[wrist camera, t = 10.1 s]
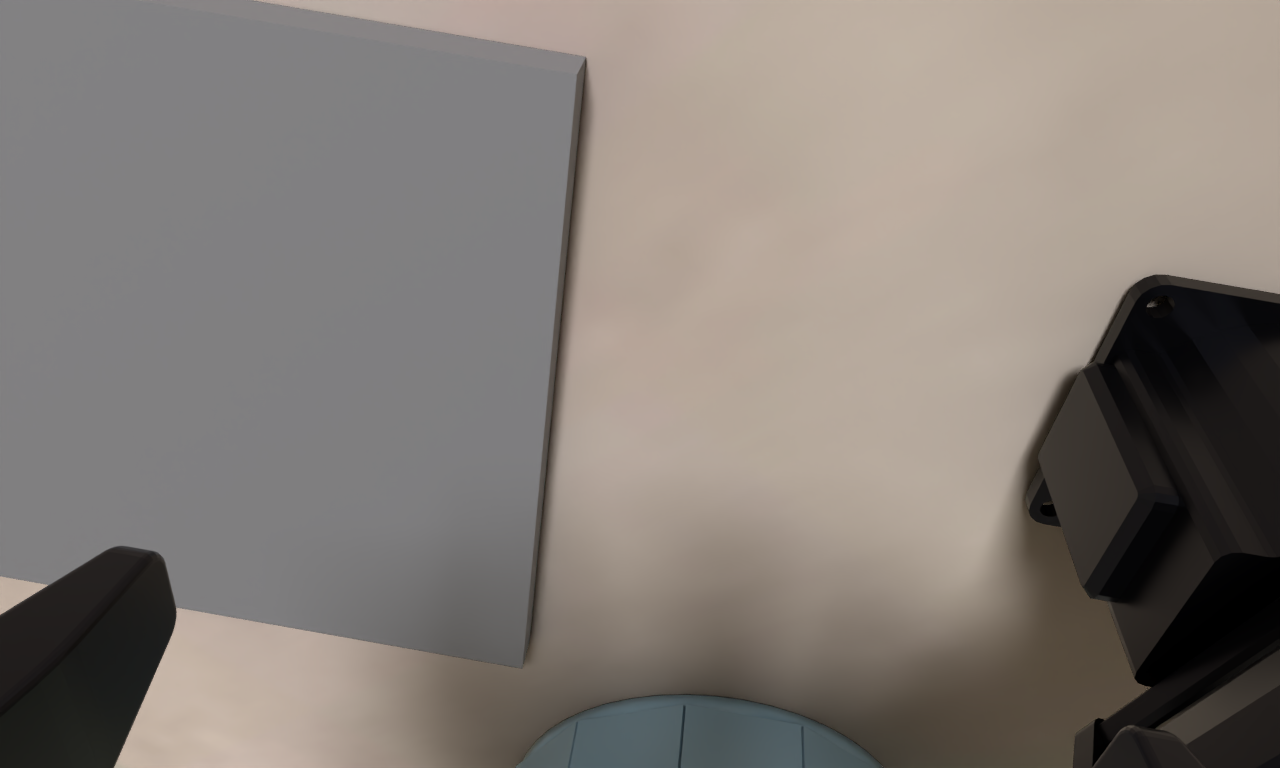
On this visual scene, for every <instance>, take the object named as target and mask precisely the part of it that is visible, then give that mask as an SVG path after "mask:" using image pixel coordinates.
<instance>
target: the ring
mask: <svg viewBox="0 0 1280 768" xmlns="http://www.w3.org/2000/svg"><path fill="white" fill-rule="evenodd" d="M515 768H883V767H882V765H881V764H880V763H879V762H878V761H877V760H876V759H874V758H873V757H872V756H871V755H870V754H869V753H868V752H867V751H865V750H864V749H863V748H861V747H860V746H859V745H857V744H856V743H854V742H853V741H851V740H850V739H848V738H847V737H845V736H844V735H842V734H840V733H838V732H836V731H834V730H832V729H830V728H829V727H827V726H825V725H823V724H820V723H818V722H816V721H813V720H811V719H808V718H806V717H803V716H801V715H799V714H795V713H792V712H789V711H786V710H783V709H779V708H776V707H773V706H769V705H764V704H760V703H755V702H750V701H746V700H740V699H732V698H725V697H718V696H703V695H658V696H649V697H640V698H632V699H627V700H622V701H618V702H613V703H608V704H605V705H601V706H598V707H595V708H592V709H589V710H586V711H583V712H581V713H579V714H577V715H575V716H572V717H570V718H568V719H566V720H564V721H562V722H561V723H559V724H558V725H556V726H554V727H553V728H551V729H550V730H548V731H547V732H546V733H545V734H544V735H543V736H541V737H540V738H539V739H538V740H537V741H536V742H535V743H534V744H533V745H532V747H531V748H530V749H529V751H528V752H527V753H526V754H525V756H524V759H523V761H522V762H521V763H519V764H518V765H517V766H516V767H515Z"/></svg>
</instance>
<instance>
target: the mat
mask: <svg viewBox="0 0 1280 768" xmlns="http://www.w3.org/2000/svg"><path fill="white" fill-rule="evenodd" d="M585 61H586V57H583V56H577V55H572V54H566V53H560V52H554V51H548V50H542V49H536V48H530V47H524V46H518V45H512V44H506V43H501V42H495V41H489V40H483V39H477V38H471V37H465V36H459V35H453V34H447V33H441V32H435V31H429V30H424V29H418V28H412V27H406V26H400V25H394V24H388V23H382V22H376V21H370V20H364V19H358V18H352V17H347V16H341V15H335V14H329V13H323V12H317V11H311V10H305V9H299V8H293V7H287V6H281V5H275V4H270V3H264V2H258V1H252V0H0V576H2V577H7V578H13V579H18V580H24V581H30V582H35V583H41V584H47V585H50V584H52V583H53V582H55V581H56V580H58V579H60V578H61V577H63V576H65V575H66V574H68V573H69V572H71V571H73V570H74V569H76V568H78V567H79V566H81V565H82V564H84V563H86V562H87V561H89V560H91V559H92V558H94V557H95V556H97V555H99V554H100V553H102V552H104V551H105V550H107V549H110V548H113V547H115V546H129V547H134V548H140V549H145V550H151V551H155V552H158V553H159V554H160V555H161V556H162V557H163V558H164V560H165V563H166V567H167V571H168V575H169V579H170V584H171V588H172V592H173V596H174V600H175V604H176V607H177V608H182V609H188V610H193V611H199V612H205V613H210V614H216V615H222V616H227V617H233V618H239V619H244V620H250V621H256V622H261V623H267V624H273V625H278V626H284V627H289V628H295V629H301V630H306V631H312V632H318V633H323V634H329V635H335V636H340V637H346V638H352V639H357V640H363V641H368V642H374V643H380V644H385V645H391V646H397V647H402V648H408V649H414V650H419V651H425V652H431V653H436V654H442V655H448V656H453V657H459V658H464V659H470V660H476V661H481V662H487V663H493V664H498V665H504V666H510V667H515V668H521V669H522V668H523V664H524V660H525V657H526V653H527V649H528V645H529V641H530V631H531V621H532V610H533V600H534V590H535V579H536V569H537V559H538V548H539V538H540V528H541V517H542V507H543V496H544V486H545V476H546V465H547V455H548V445H549V434H550V424H551V413H552V403H553V393H554V382H555V372H556V362H557V351H558V341H559V331H560V320H561V310H562V299H563V289H564V279H565V268H566V258H567V248H568V237H569V227H570V217H571V206H572V196H573V185H574V175H575V165H576V154H577V144H578V134H579V123H580V113H581V102H582V92H583V82H584V71H585Z"/></svg>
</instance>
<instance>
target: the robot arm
mask: <svg viewBox="0 0 1280 768" xmlns="http://www.w3.org/2000/svg"><path fill="white" fill-rule="evenodd" d="M1158 296H1167V299H1166V300H1165V301H1164V302H1163V303H1162V304H1161V305H1159V306H1157V307H1147V304H1148V303H1149V302H1150V301H1151V300H1152V299H1154V298H1156V297H1158ZM1038 460H1039V463H1040V468H1039V470H1038V471H1037V473H1036V475H1035V477H1034V479H1033V481H1032V483H1031V485H1030V487H1029V489H1028V491H1027V493H1026V497H1025V501H1026V504H1027V507H1028V510H1029V513H1030V516H1031V517H1032V518H1033V519H1034V520H1035V521H1036V522H1039V523H1042V524H1046V525H1052V526H1058V527H1062V530H1063V533H1064V536H1065V539H1066V542H1067V545H1068V548H1069V551H1070V554H1071V557H1072V560H1073V563H1074V565H1075V568H1076V571H1077V574H1078V577H1079V580H1080V583H1081V585H1082V587H1083V588H1084V590H1085V591H1086V593H1087V594H1088V596H1089V597H1090V598H1092V599H1098V600H1103V601H1107V604H1108V607H1109V609H1110V612H1111V615H1112V618H1113V620H1114V623H1115V626H1116V629H1117V631H1118V634H1119V637H1120V640H1121V642H1122V645H1123V648H1124V651H1125V653H1126V656H1127V659H1128V662H1129V664H1130V667H1131V670H1132V673H1133V675H1134V678H1135V679H1136V681H1137V682H1138V683H1139V684H1142V685H1144V686H1149V687H1151V688H1150V689H1148V690H1147V691H1145V692H1144V693H1143V694H1141V695H1140V696H1138V697H1137V698H1135V699H1134V700H1133V701H1131V702H1130V703H1128V704H1127V705H1125V706H1124V707H1123V708H1121V709H1120V710H1118V711H1117V712H1116V713H1114V714H1113V715H1111V716H1110V717H1108V718H1107V719H1106V720H1103V719H1100V718H1098V719H1095V720H1094V721H1093V722H1091V723H1090V724H1088V725H1087V726H1086V727H1084V728H1083V729H1081V730H1080V731H1078V732H1077V733H1076V735H1075V744H1074V759H1073V768H1280V294H1275V293H1269V292H1264V291H1258V290H1252V289H1246V288H1240V287H1234V286H1228V285H1222V284H1217V283H1211V282H1205V281H1199V280H1193V279H1187V278H1181V277H1176V276H1170V275H1152V276H1149V277H1146V278H1144V279H1142V280H1141V281H1139V282H1138V283H1136V284H1135V285H1134V286H1133V287H1132V289H1131V290H1130V291H1129V293H1128V295H1127V297H1126V299H1125V301H1124V303H1123V305H1122V307H1121V309H1120V311H1119V313H1118V314H1117V316H1116V318H1115V320H1114V322H1113V324H1112V326H1111V328H1110V330H1109V332H1108V334H1107V336H1106V338H1105V340H1104V342H1103V344H1102V346H1101V348H1100V350H1099V352H1098V354H1097V356H1096V358H1095V360H1094V362H1093V363H1090V364H1089V365H1087V366H1086V367H1085V368H1083V369H1082V370H1081V371H1080V372H1079V374H1078V376H1077V378H1076V380H1075V382H1074V384H1073V386H1072V388H1071V390H1070V392H1069V394H1068V396H1067V398H1066V400H1065V402H1064V404H1063V406H1062V408H1061V410H1060V412H1059V414H1058V416H1057V418H1056V420H1055V422H1054V424H1053V426H1052V428H1051V430H1050V432H1049V434H1048V436H1047V438H1046V440H1045V442H1044V444H1043V446H1042V448H1041V450H1040V452H1039V454H1038ZM1048 501H1053V504H1050V505H1043V504H1044V503H1045V502H1048ZM175 622H176V604H175V600H174V596H173V592H172V588H171V584H170V579H169V575H168V571H167V567H166V563H165V560H164V558H163V557H162V556H161V555H160V554H159V553H158V552H155V551H151V550H145V549H140V548H134V547H129V546H115V547H113V548H110V549H107V550H105V551H104V552H102V553H100V554H99V555H97V556H95V557H94V558H92V559H91V560H89V561H87V562H86V563H84V564H82V565H81V566H79V567H78V568H76V569H74V570H73V571H71V572H69V573H68V574H66V575H65V576H63V577H61V578H60V579H58V580H56V581H55V582H53V583H52V584H50V585H48V586H47V587H45V588H43V589H42V590H40V591H39V592H37V593H35V594H34V595H32V596H30V597H29V598H27V599H25V600H24V601H22V602H21V603H19V604H17V605H16V606H14V607H12V608H11V609H9V610H8V611H6V612H4V613H3V614H1V615H0V768H114V766H115V764H116V762H117V760H118V757H119V755H120V753H121V751H122V748H123V746H124V744H125V741H126V739H127V737H128V734H129V732H130V730H131V728H132V725H133V723H134V721H135V718H136V716H137V714H138V711H139V709H140V707H141V705H142V702H143V700H144V698H145V695H146V693H147V691H148V689H149V686H150V684H151V682H152V679H153V677H154V675H155V672H156V670H157V668H158V666H159V663H160V661H161V659H162V656H163V654H164V652H165V649H166V647H167V645H168V643H169V640H170V638H171V636H172V633H173V630H174V627H175Z"/></svg>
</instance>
